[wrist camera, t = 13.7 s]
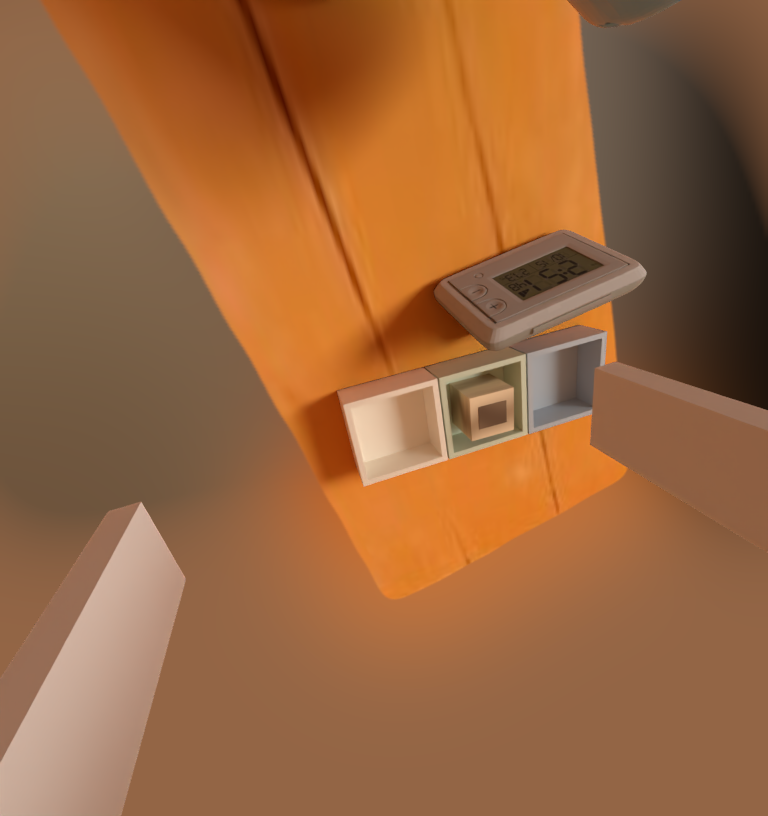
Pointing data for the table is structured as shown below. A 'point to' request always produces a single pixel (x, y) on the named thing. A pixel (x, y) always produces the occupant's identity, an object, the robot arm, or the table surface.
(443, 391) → the box
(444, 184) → the table surface
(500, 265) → the digital clock
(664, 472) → the robot arm
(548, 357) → the box
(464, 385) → the letter cube
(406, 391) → the caddy cream
